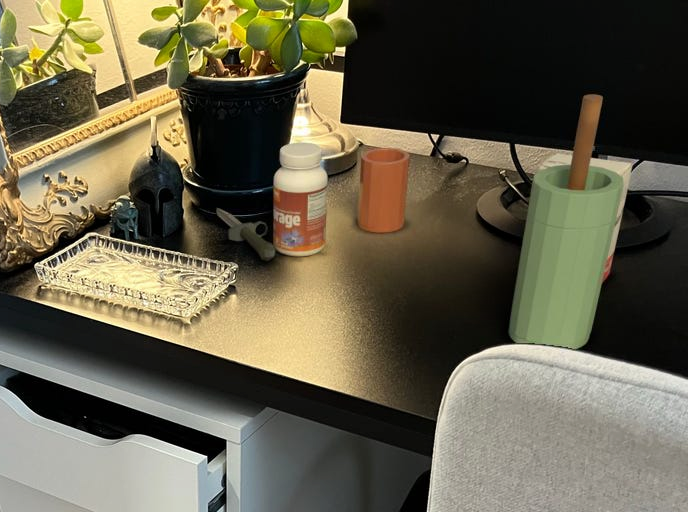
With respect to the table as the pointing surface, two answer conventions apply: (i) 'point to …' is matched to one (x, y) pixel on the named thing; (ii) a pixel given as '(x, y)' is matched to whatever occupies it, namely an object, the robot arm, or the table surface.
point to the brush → (584, 142)
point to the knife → (248, 235)
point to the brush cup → (383, 189)
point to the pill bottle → (300, 200)
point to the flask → (564, 256)
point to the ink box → (625, 172)
